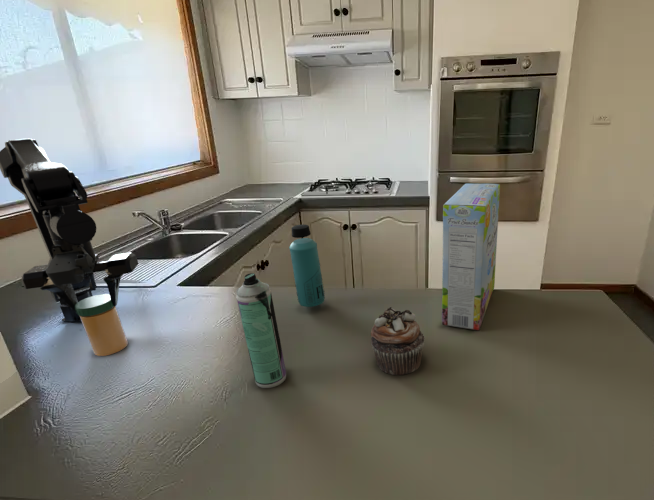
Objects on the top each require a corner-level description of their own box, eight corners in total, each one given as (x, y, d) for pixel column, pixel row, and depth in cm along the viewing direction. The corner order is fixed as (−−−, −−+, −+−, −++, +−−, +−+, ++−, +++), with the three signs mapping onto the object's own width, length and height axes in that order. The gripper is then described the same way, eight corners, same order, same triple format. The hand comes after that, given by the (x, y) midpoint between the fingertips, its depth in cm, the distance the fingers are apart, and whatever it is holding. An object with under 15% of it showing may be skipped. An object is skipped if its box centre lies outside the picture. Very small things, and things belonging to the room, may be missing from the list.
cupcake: (364, 373, 74) (359, 324, 70) (382, 345, 83) (379, 299, 79) (417, 382, 71) (415, 330, 67) (430, 351, 79) (429, 303, 75)
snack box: (483, 332, 84) (487, 205, 74) (440, 327, 87) (438, 204, 77) (497, 288, 102) (501, 181, 92) (461, 285, 106) (461, 181, 96)
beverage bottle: (321, 313, 97) (309, 229, 89) (294, 312, 99) (280, 230, 91) (329, 301, 103) (319, 221, 95) (304, 300, 104) (291, 222, 97)
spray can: (292, 371, 77) (273, 269, 69) (276, 390, 72) (254, 282, 64) (266, 367, 78) (245, 267, 71) (249, 385, 74) (224, 280, 66)
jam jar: (110, 339, 93) (94, 296, 89) (134, 340, 92) (120, 297, 88) (86, 355, 88) (68, 310, 84) (112, 356, 86) (95, 311, 82)
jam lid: (73, 310, 86) (70, 302, 86) (110, 298, 91) (108, 291, 90) (81, 320, 82) (78, 312, 81) (120, 307, 86) (117, 299, 86)
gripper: (-11, 256, 71) (25, 336, 77) (110, 239, 75) (136, 316, 81) (22, 238, 81) (52, 310, 87) (127, 224, 85) (149, 294, 91)
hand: (96, 308), depth 86 cm, fingers closed on jam lid, 7 cm apart
